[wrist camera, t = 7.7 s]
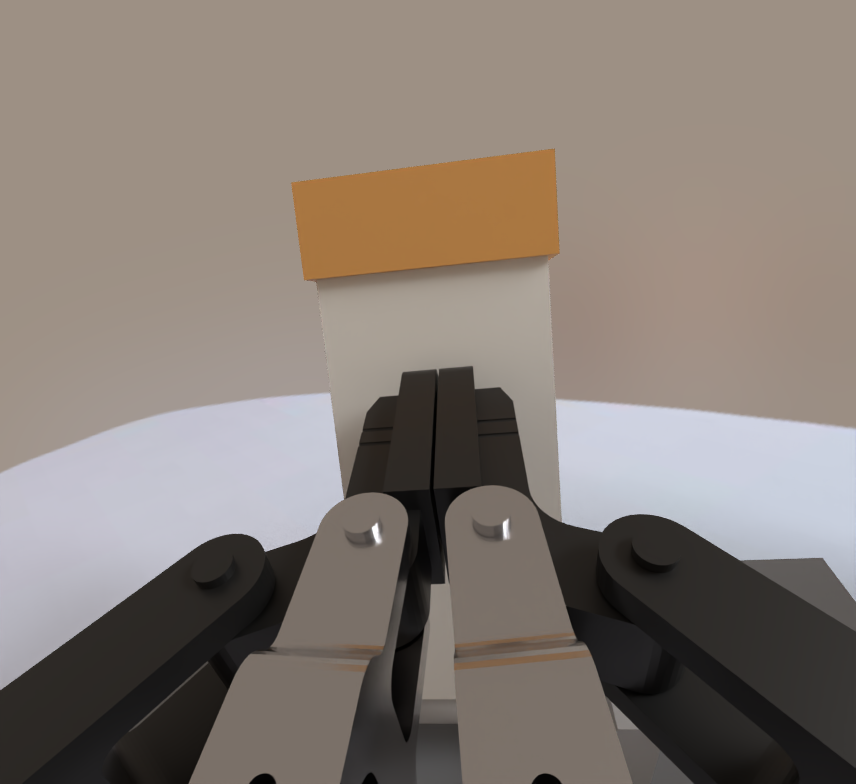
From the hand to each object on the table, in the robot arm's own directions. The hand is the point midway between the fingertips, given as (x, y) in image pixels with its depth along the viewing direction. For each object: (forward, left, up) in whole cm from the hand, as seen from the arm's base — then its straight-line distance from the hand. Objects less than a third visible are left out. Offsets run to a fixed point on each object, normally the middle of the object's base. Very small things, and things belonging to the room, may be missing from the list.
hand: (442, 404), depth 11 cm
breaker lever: (+1, +2, -8) cm, 8 cm away
